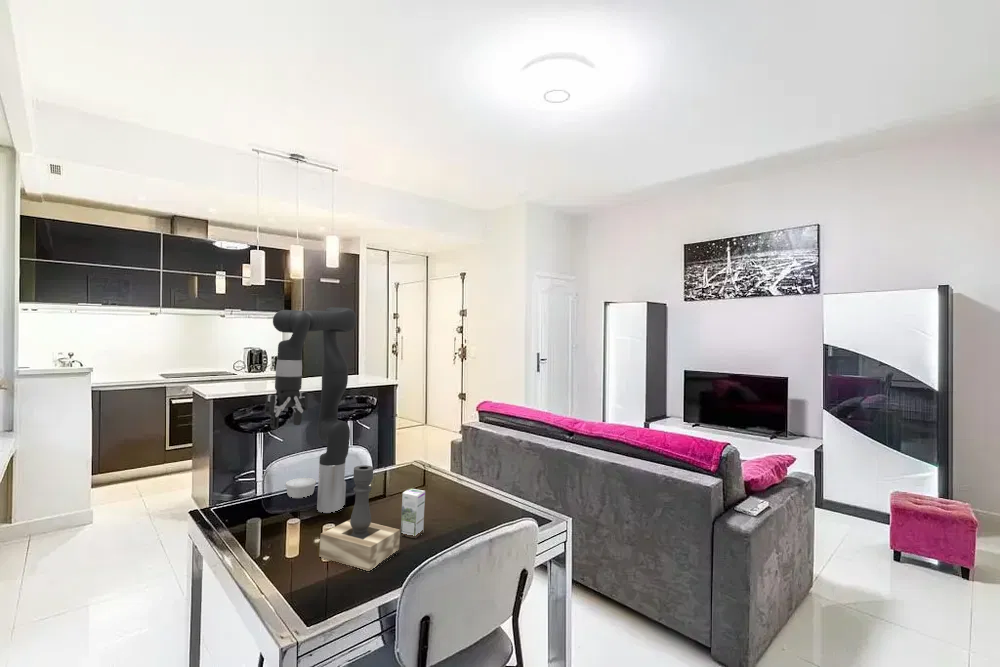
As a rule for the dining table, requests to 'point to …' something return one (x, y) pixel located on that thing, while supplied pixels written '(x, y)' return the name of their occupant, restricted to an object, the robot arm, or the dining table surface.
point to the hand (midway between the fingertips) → (286, 426)
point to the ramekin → (300, 487)
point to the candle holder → (361, 501)
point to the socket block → (359, 545)
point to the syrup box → (412, 511)
